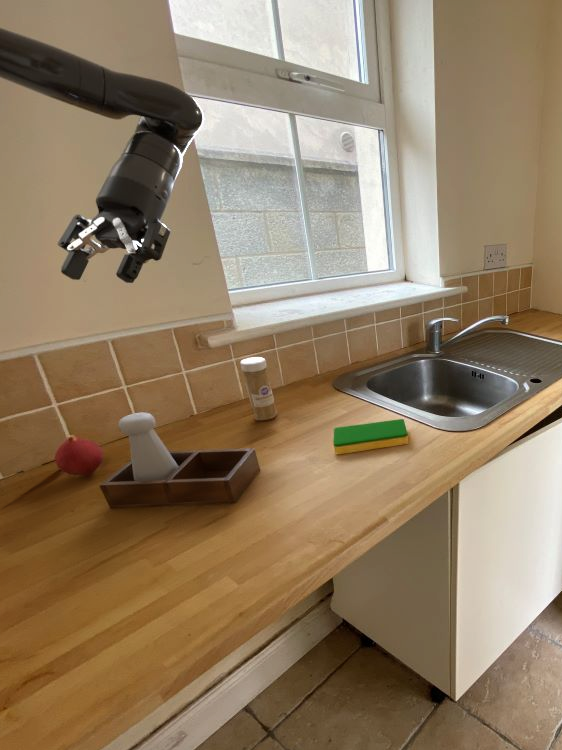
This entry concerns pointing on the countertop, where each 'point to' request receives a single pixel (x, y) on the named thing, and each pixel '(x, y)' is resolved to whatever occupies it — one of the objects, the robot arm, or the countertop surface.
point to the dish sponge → (370, 436)
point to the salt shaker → (147, 448)
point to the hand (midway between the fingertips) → (96, 278)
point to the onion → (78, 456)
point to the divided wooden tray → (186, 480)
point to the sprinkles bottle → (259, 388)
